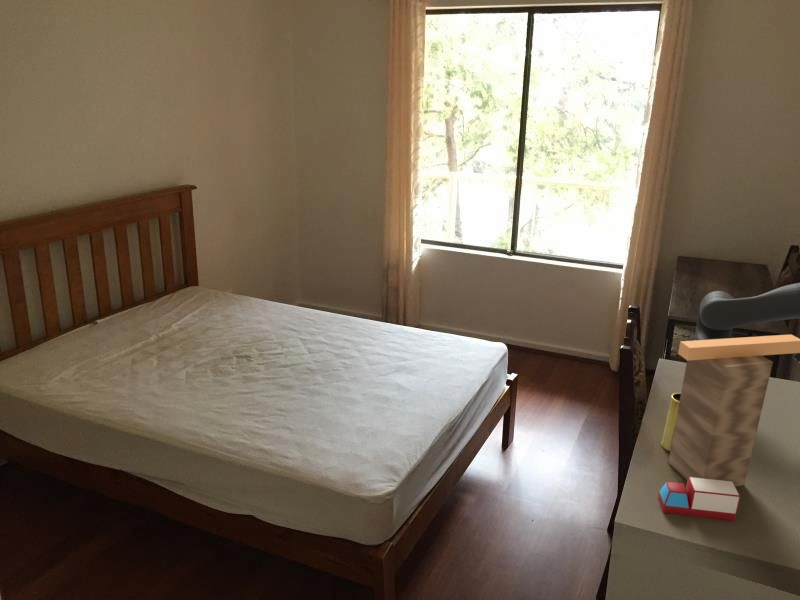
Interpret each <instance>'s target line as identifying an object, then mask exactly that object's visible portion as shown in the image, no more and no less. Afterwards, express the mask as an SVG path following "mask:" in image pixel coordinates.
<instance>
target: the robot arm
mask: <svg viewBox="0 0 800 600" xmlns="http://www.w3.org/2000/svg"><path fill="white" fill-rule="evenodd" d="M793 319H794V320H795V319H800V282H798V283H797V282H796V283H791V284H787V285H784V286H781V287H778V288H775V289H772V290H770V291H767V292H765V293H762V294H759V295H757V296H756V295H755V296H751V297H739V298H734V297H733V296H732V295H731V294H730V293H727V292H726V291H724V290H715V291H714V290H713V291H711V292H709V293H707V294H706V295H705V296H704V297H703V298H702V300H701V302H700V305H699V310H698V316H697V321H696V327H695V334H694V340H693V341H695V340H711V339H726V338H732V334H733V329H734V328H738V327H739V328H740V327H742V326H748V325H753V324H758V323H764V322H776V321H785V320H793ZM791 358H792V359H794V361H795V363H799V364H800V353H792V355H791Z"/></svg>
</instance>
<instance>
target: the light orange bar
mask: <svg viewBox="0 0 800 600" xmlns="http://www.w3.org/2000/svg"><path fill="white" fill-rule="evenodd" d="M694 340H695V339H694ZM694 340H684V341H683V340H682V341H681V340H680V341H679V347H678V352H677V354H678V355H679V356H681V357H682V358H683V359H684V360H686V362H687V361H688V360H703V359H718V358H732V357H747V356H773V355H774V356H775V355H788V354H794V353H800V338H799V337H797V336H795V335H793V334H792V333H791V334H778V335H763V336H762V335H760V336H747V337H746V336H745V337H731V338H726V339H711V340H695V341H694Z"/></svg>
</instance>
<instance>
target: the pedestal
mask: <svg viewBox="0 0 800 600" xmlns="http://www.w3.org/2000/svg"><path fill="white" fill-rule="evenodd" d="M773 363H774V362H773V360H770V359H768V358H766V357H765V356H764V355H761V356H747V357H732V358H718V359H703V360H688V361H687V360H686V365H685V369H684V376H683V382H682V387H681V392H680V393H681V397H680V402H679V408H678V413H677V418H676V424H675V429H674V435H673V440H672V446H671V451H669V457H668V458H669V459H668V464H669V465H670V466H671V467H672V468H673V469H674V470H675V471H676V472H678V473H679V474H680V475H681V476H682V478H684V479H685V480H686V481H687V480H688V477H694V478H703V479H713V480H722V481H731V482H733V483H734V485H735V487H741V486H745V483H746V480H747V479H746V478H747V474H748V469H749V466H750V462H751V458H752V453H753V449H754V445H755V440H756V436H757V432H758V428H759V424H760V420H761V419H760V418H761V414H762V412H763V411H762V410H763V406H764V403H765V397H766V393H767V389H768V385H769V381H770V376H771V372H772V367H773Z"/></svg>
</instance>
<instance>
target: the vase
mask: <svg viewBox="0 0 800 600" xmlns="http://www.w3.org/2000/svg"><path fill="white" fill-rule="evenodd" d="M680 397H681V392H675V393H674V392H673V393H672V394H671V396H670V400H669V405H668V406H669V407H668V412H667V416H666V421H665V426H664V429H663V433H662V440H661V442H660V445H661V447H662V448H663V449H665V450H666V451H667V452H670V451H671V446H672V440H673V435H674V429H675V424H676V418H677V413H678V408H679V402H680Z"/></svg>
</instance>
